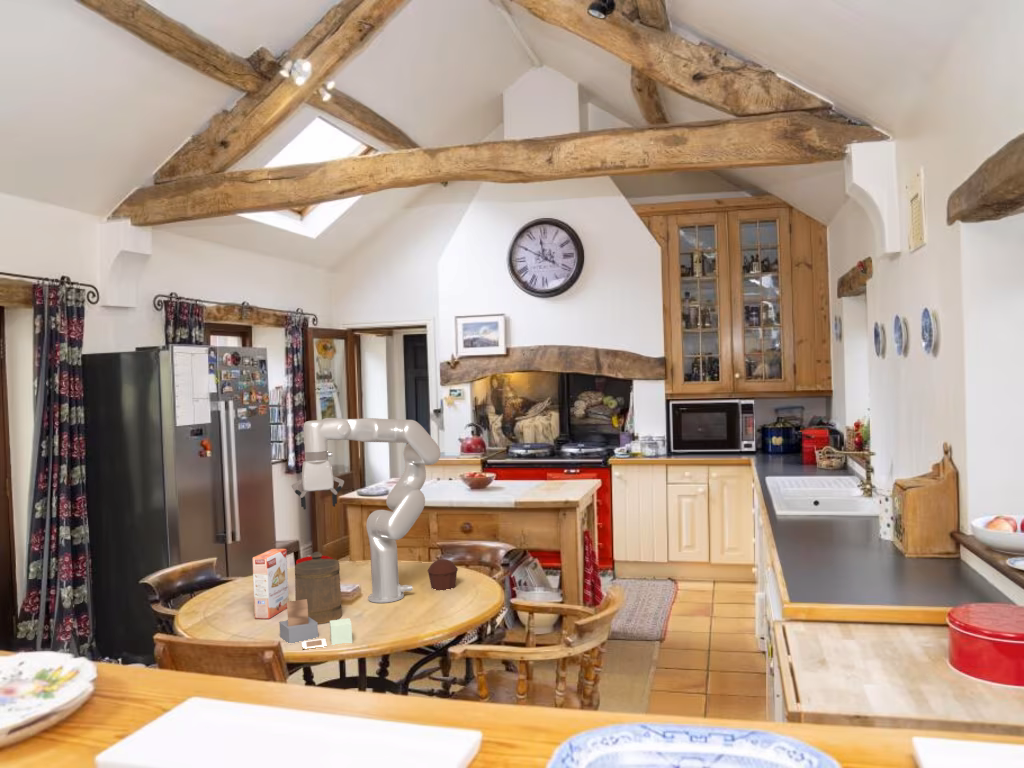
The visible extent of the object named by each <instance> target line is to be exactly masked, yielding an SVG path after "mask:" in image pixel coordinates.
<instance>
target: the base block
mask: <svg viewBox="0 0 1024 768" xmlns="http://www.w3.org/2000/svg"><path fill="white" fill-rule="evenodd" d="M278 623H279V624H278V625H279V637H280V638H281V639H282V640H283V641H284V640H285V641H284V642H286V643H287V642H288V643H294V644H296V643H295V642H298V643H300V642H299V641H304V640H307V641H309V640H308V639H311V640H314V639H313V638H315V639H317V638H316V637H318V638H319V624H318V623H317V622H316V621H314V620H313V619H311V618H310V617H308V623H309V624H303V625H295V626H288V619H287V620H282V621H279V622H278ZM288 643H287V644H288Z"/></svg>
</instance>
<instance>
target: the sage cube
mask: <svg viewBox="0 0 1024 768" xmlns="http://www.w3.org/2000/svg"><path fill="white" fill-rule="evenodd" d="M352 625H353V624H352V621H351V618H349V617H348V618H339V619H337V620H331V621H330V622H329V633H330V644H331V643H332V644H331V646H332V645H335V644H342V643H352V644H353V628H352V627H353V626H352Z"/></svg>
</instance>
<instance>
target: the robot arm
mask: <svg viewBox="0 0 1024 768" xmlns="http://www.w3.org/2000/svg"><path fill="white" fill-rule="evenodd" d="M343 440H344V441H346V440H347V441H356V442H363V443H392V444H393V443H394V444H396V443H398V444H400V443H403V444H406V445H405V446H404V448H403V459H404V465H405V466H404V471H403V473H402V475H401V477H399V479H398V481H397V482H396V483H395V485H394V486H393V488H392V489H391V490H390V492H389V493H388V494H387V497H386V502H385V503H386V506H387V508H389V509H390V510H386V509H376V510H374V511H371V513H370V514H369V516H368V517H367V519H366V532H367V537H368V541H369V550H370V551H369V553H370V568H371V587H372V588H371V589H372V593H370V594H369V595H368V598H367V600H368V601H370V602H372V603H377V604H384V603H386V604H387V603H392V602H396V601H399V600H402V599H403V598H404V596H405V594H404V592H411V591H413V585H412V584H411V585H409V584H404V585H403V584H400V579H399V562H398V561H399V560H398V546H397V541H398V540H400V539H403V538H404V537H405V536H406V535H407V534H408V533H409V531H410V530H411V528H412V527H413V526H414V524H415V523H416V521H417V520H418V518H419V517H420V515H421V514H422V513H423V511H424V508H425V504H426V497H425V495H424V493H423V492H422V491H421V489H422V487H423V486H424V484H425V482H426V479H427V469H426V466H432V465H435V464H436V463H438V462H439V460H440V457H441V450H440V447H439V445H438V443H437V442H436V440H434V439H433V438H432V436H431V435H430V434H429V433H428V431H427V430H426V429H425V428H424V427H423V426H422V425H421V423H419V422H418V421H416V420H414V419H398V418H397V419H396V418H395V419H393V418H373V417H372V418H371V417H368V418H367V417H365V418H341V417H339V418H338V417H326V418H322V419H318V420H317V419H316V420H308V421H305V422H304V423H303V443H304V459H305V461H303V462H302V468H301V469H302V470H301V471H302V472H301V479H299V480H298V481H296V482H294V483H293V484H291V488H292V489H293V491H294V493H295V494H296V495H297V496H298V497H299V498H300V506H301V508H303V510H306V509H307V503H306V502H307V501H306V494H307V493H308V492H318V491H329V490H330V492H331V493H332V494H331V502H332V507H336V505H338V497H337V496H338V493H339V492H340V491H341V490H342V488H343V487H344V484H345V480H343V479H341V478H339V477H336V476H334V474H333V466H332V465H333V464H332V461H331V459H329V458H330V457H333V452H330V451H328V450H329V449H328V441H343ZM334 482H337V483H338V486H337V487H336V488H334ZM300 485H302V491H300V490H299V489H298V487H299V486H300Z"/></svg>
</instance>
